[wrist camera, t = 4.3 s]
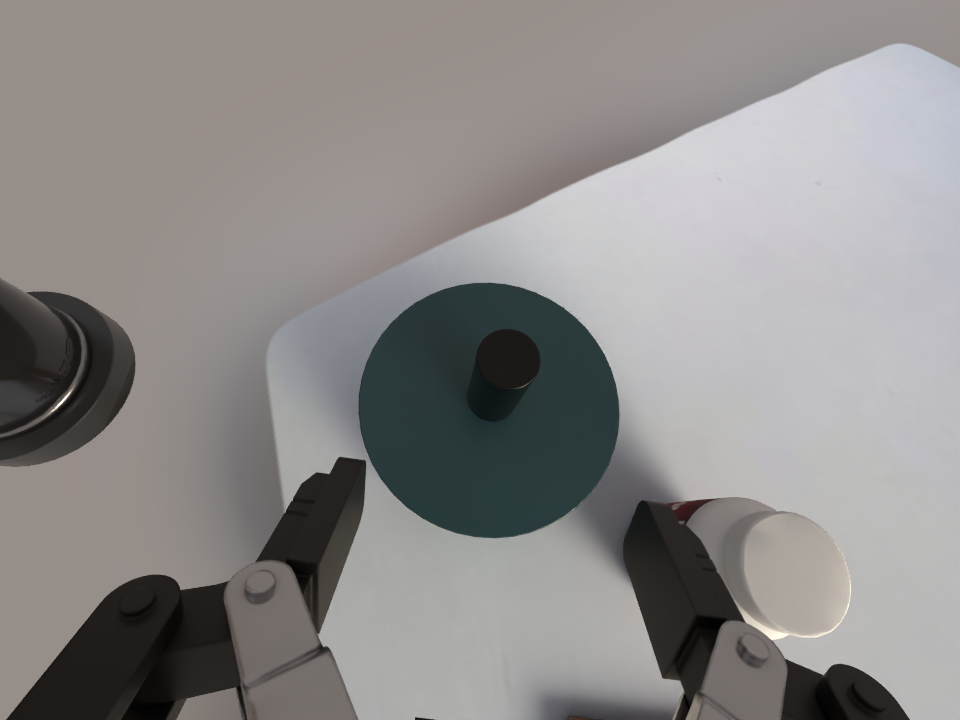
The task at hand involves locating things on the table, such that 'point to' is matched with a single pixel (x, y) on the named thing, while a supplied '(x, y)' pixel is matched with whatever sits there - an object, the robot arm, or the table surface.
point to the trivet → (579, 718)
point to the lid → (488, 410)
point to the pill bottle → (772, 564)
